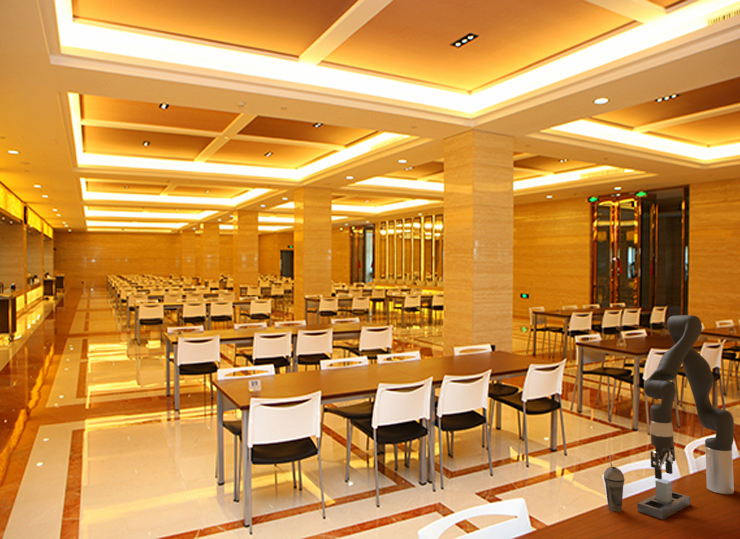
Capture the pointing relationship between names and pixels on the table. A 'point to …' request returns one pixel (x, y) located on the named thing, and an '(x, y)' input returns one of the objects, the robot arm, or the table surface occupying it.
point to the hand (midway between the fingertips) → (663, 476)
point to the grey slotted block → (663, 505)
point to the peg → (663, 491)
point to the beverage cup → (614, 487)
